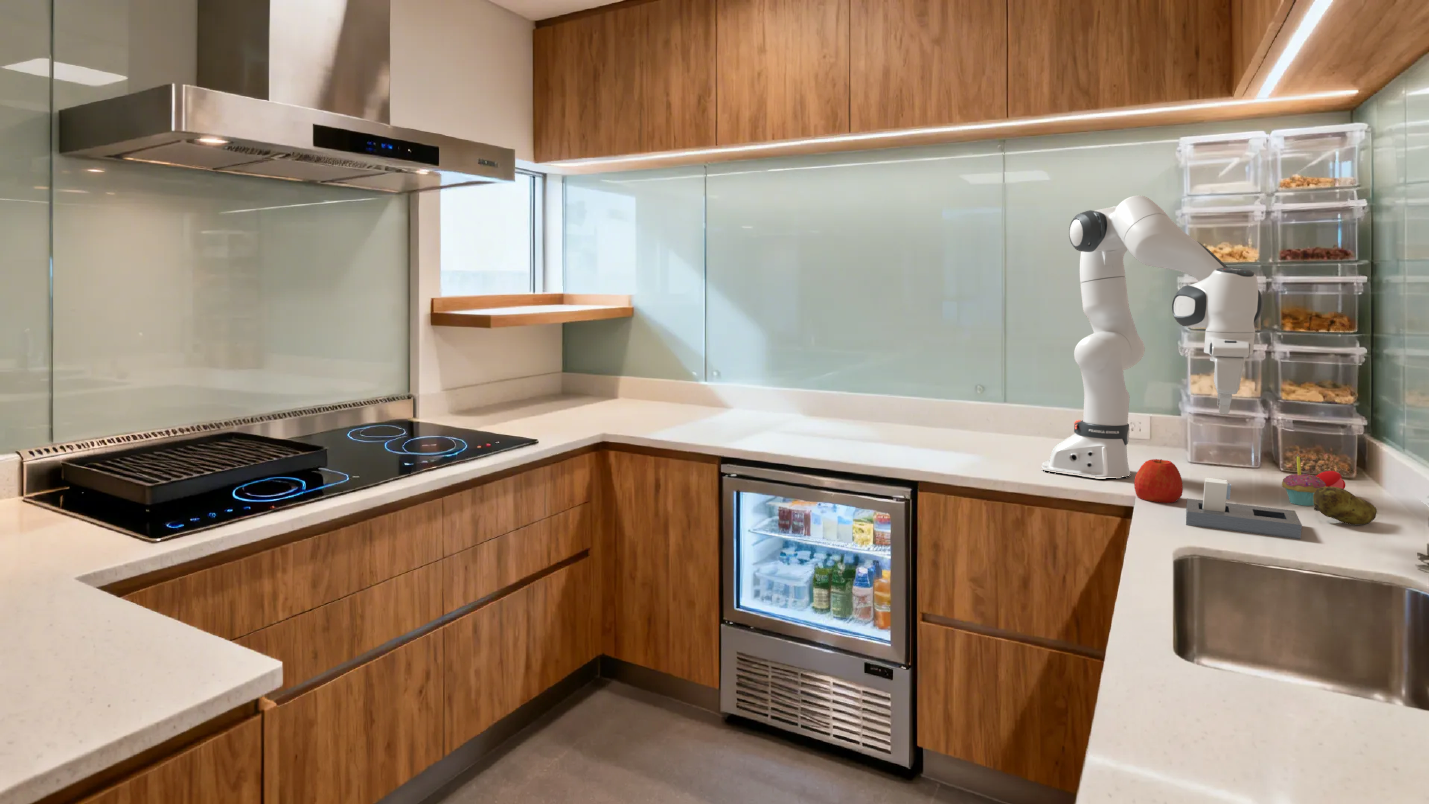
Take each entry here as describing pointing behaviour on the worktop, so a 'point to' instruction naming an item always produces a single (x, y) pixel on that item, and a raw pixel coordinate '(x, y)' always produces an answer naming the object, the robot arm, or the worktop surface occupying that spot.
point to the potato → (1343, 506)
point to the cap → (1332, 479)
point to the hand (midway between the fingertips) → (1222, 410)
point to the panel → (1245, 519)
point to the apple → (1158, 481)
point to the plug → (1216, 494)
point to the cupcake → (1302, 486)
